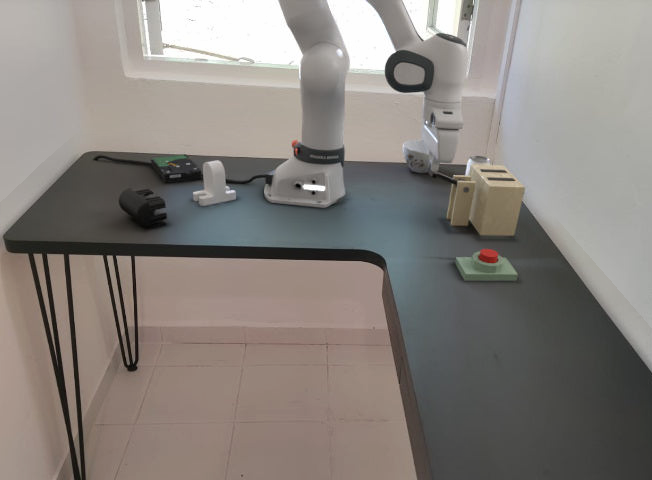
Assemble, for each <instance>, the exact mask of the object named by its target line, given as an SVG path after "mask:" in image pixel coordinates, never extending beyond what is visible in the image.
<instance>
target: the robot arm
mask: <svg viewBox="0 0 652 480" xmlns="http://www.w3.org/2000/svg"><path fill="white" fill-rule="evenodd" d="M362 1H363V2H365V3H366V4H367V5H368V6H370V7H371V8H372V9H373V11H374V12H375V13H376V14H377V16H378V17H379V20H380V22H381V24H382V26H383V28H384V31H385V33H386V34H387V37H388V39H389V41H390V43H391V45H392V48H393V53H391V54H390V55H389V56H388V58H387V59H386V62H385V65H384V77H385V80H386V83H387V84H388V85H389V86H390V88H391V89H393V90H394V91H396V92H398V93H401V94H402V93H403V94H412V93H413V94H414V93H423V100H422V107H421V108H422V110H421V118H422V123H421V127H420V128H421V129H420V140H423V142H424V143H425V145H426V146H427V147H428V149H429V167H430V169H431V170H432V171H436V172H439V167H440V164H452V163H453V162H454V160H455V158H456V154H457V151H458V144H459V140H460V130H463V127H464V117H463V115H462V103H463V87H464V84H465V82H466V78H467V70H468V59H469V58H468V57H469V55H468V54H469V53H468V46H467V44H466V43H465V41H464V40H463V39H461V38H460V37H458V36H455V35H453V34H449V33H444V32H438V33H435V34H433V35H432V36H431V37H429V38H426V39H423V38H422V37H421V35H419V33H418V30H417V29H416V27H415V25H414V23H413V21H412V19H411V16H410V14H409V12H408V10H407V7H406V6H405V5H406V4H405V3H404V0H362ZM278 3H279V7H280V9H281V12H282V15H283V17H284V21H285V23H286V26H287V27H288V29H289V30H290V32H291V34H292V36H293V37H294V40H295V41H296V44H297V46H298V48H299V50H300V53H301V54H302V57H301V59H300V61H299V62H300V63H299V67H298V68H299V92H300V93H299V94H300V104H301V141H298V139H293V140H292V141H291V147H292V149H293V156H291V157H290V158H289V159H287V160H285V161H284V162H283V163H281V164H279V165H278V166H277V167H276V168H275V169H272V170H270V171H268V172H266V173H265V174H257V175H253V176H252V177H251V178H249V179H245V180H234V179H229V178H225V182H226V183H230V184H241V185H244V184H250V183H252V182H254V180H257V179H264V181H265V182H264V183H265V186H264V188H263V197H264V198H265V199H266V201H268V202H269V203H272V204H280V205H281V204H282V205H291V206H300V207H311V208H320V209H325V208H328V207H330V206H331V205H335V204H339V202H340V201H339V199H342V198H344V196H345V195H346V188H345V181H344V180H345V179H344V166H345V160H346V147H345V143H344V142H345V140H344V139H345V123H346V79H347V75H348V73H349V70H350V67H351V60H350V54H349V52H348V50H347V47H346V44H345V41H344V38H343V36H342V33H341V31H340V28H339V25H338V24H337V20H336V19H335V18H336V17H335V16H334V14H333V11H332V9H331V6H330V3H329V0H278ZM99 159H104V160H108V161H111V162H116V163H125V164H126V163H127V164H134V165H135V164H136V165H144V166H149V167H153V166H152V163H151V162H148V161H142V160H141V161H140V160H134V159H133V160H132V159H123V158H114V157H111V156H106V155H103V154H99V155H96V156H95V157H93V159H92V160H93V161H98V160H99ZM202 178H203V173H202Z"/></svg>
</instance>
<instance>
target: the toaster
mask: <svg viewBox="0 0 652 480" xmlns="http://www.w3.org/2000/svg"><path fill="white" fill-rule="evenodd" d="M469 176H471V181H475V182H476V184H475V189H474V195H473V200H472V206H471V211H470V216H469V221H470V223H471V224H472V226H473V227H474V229H475V230H476V232H477V233H478V235H479V236H506V237H509V236H510V237H513V236H515V234H516V230H517V229H516V228H517V224H518V220H519V217H520V212H521V207H522V204H523V199H524V195H525V190H526V187H525V185H524V184H522V182H521V181H520V180H519V179H518V178H516V176H515V175H514V174H513V173H512V172H510V171H509V169H508V168H507V167H506V166H505V165H501V164H490V165H480V164H471V167H470V172H469Z"/></svg>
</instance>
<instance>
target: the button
mask: <svg viewBox="0 0 652 480" xmlns="http://www.w3.org/2000/svg"><path fill="white" fill-rule="evenodd" d="M498 255H499V253H498V252H497V251H496V250H495V249H492V248H491V249H490V248H482V249H481V250H480V255H479V260H481V261H483V262H486V263H496V262H497V258H498Z"/></svg>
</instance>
